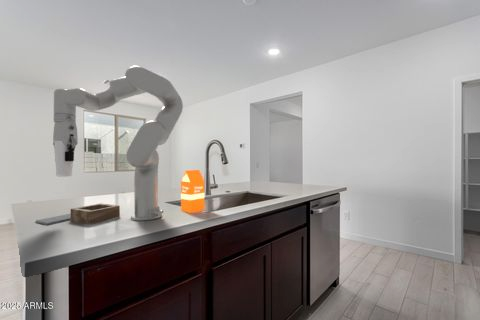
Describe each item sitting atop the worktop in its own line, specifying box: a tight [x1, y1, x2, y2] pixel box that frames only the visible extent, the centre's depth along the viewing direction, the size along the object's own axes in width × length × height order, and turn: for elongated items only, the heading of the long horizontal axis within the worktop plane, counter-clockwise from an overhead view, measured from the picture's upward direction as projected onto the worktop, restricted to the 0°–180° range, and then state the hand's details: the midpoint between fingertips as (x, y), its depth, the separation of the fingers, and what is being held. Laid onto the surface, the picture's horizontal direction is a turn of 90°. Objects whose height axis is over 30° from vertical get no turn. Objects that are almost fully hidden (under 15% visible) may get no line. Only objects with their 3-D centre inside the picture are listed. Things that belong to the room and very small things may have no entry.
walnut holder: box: [70, 203, 121, 225], centre depth 100 cm, size 13×13×5 cm
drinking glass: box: [53, 141, 74, 178], centre depth 99 cm, size 7×7×15 cm
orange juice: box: [180, 169, 205, 214], centre depth 115 cm, size 8×9×20 cm
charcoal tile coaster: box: [35, 213, 71, 226], centre depth 99 cm, size 9×14×1 cm, turn 154°
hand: (64, 160), depth 99 cm, fingers closed on drinking glass, 6 cm apart
